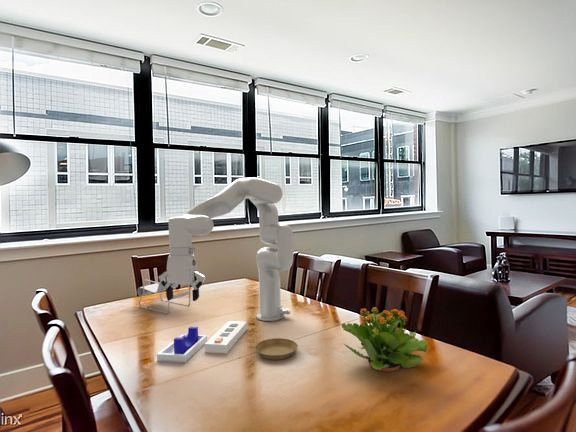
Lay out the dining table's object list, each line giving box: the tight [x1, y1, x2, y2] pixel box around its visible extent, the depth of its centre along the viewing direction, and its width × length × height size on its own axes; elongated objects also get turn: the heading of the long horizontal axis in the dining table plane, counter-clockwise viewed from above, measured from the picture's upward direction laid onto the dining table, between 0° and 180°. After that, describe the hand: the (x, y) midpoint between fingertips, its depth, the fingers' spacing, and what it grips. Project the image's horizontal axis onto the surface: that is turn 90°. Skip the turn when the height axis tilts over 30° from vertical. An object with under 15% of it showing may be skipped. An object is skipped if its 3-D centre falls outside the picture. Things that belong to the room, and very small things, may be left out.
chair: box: [137, 271, 191, 314], centre depth 182 cm, size 13×25×20 cm, turn 57°
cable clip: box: [173, 326, 199, 354], centre depth 127 cm, size 12×4×6 cm, turn 168°
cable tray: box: [156, 333, 208, 364], centre depth 127 cm, size 10×18×2 cm, turn 169°
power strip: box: [204, 320, 248, 354], centre depth 137 cm, size 8×24×4 cm, turn 169°
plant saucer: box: [254, 337, 298, 361], centre depth 124 cm, size 15×15×3 cm
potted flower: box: [341, 306, 428, 373], centre depth 112 cm, size 25×24×18 cm
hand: (182, 299), depth 127 cm, fingers open, 9 cm apart
